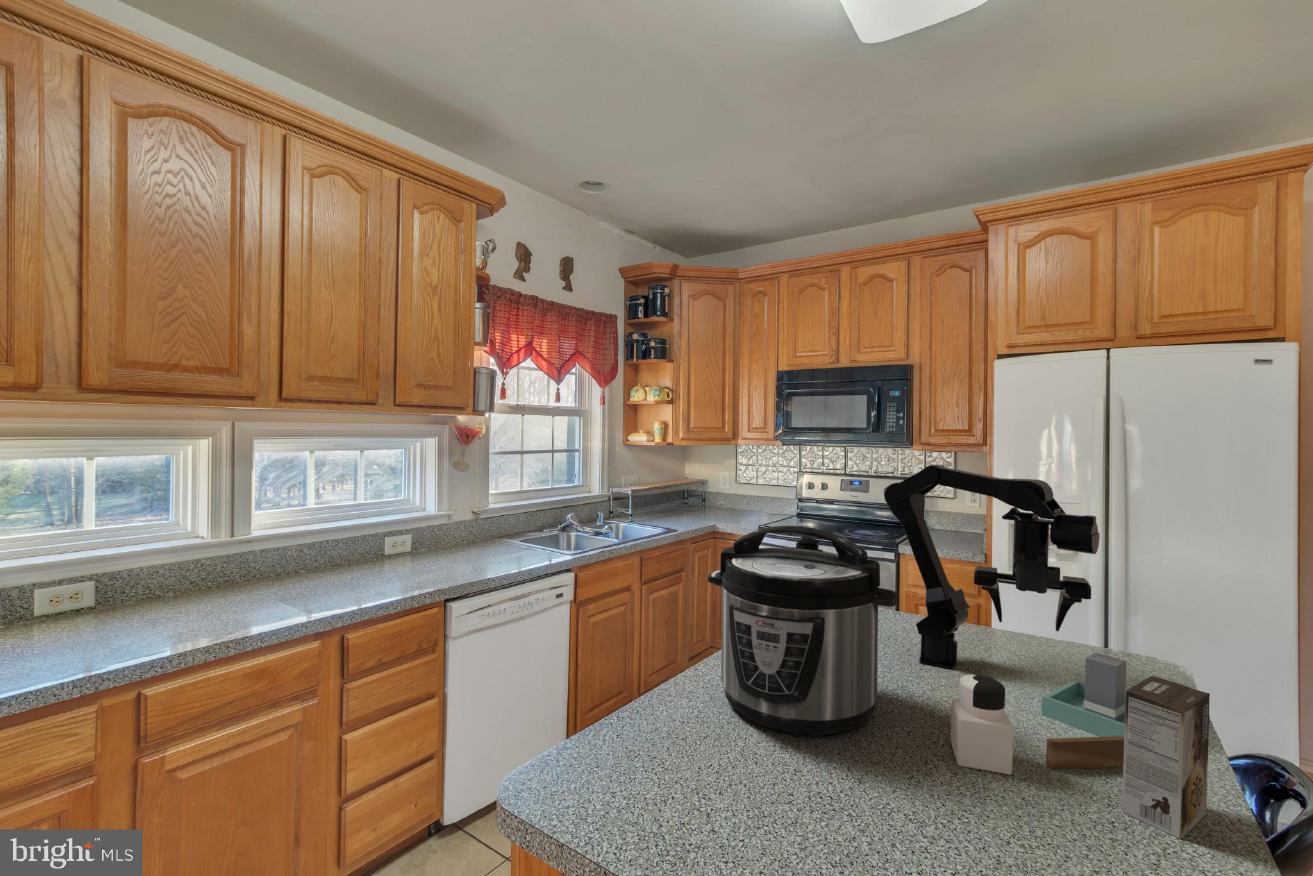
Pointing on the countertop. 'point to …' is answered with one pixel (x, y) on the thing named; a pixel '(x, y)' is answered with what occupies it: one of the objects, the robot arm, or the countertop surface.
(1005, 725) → the medicine bottle
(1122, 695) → the grey upright cuboid
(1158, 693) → the coffee box
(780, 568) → the pressure cooker
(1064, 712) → the tray
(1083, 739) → the back rail
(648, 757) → the countertop surface
